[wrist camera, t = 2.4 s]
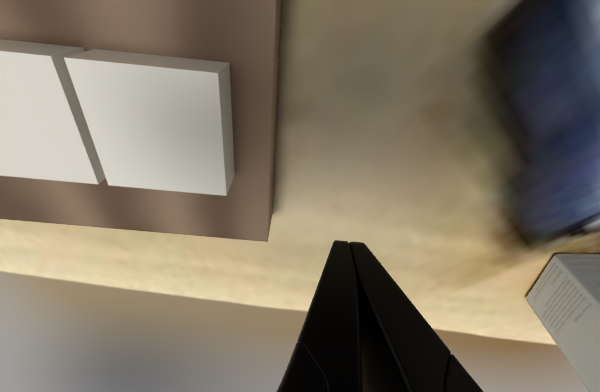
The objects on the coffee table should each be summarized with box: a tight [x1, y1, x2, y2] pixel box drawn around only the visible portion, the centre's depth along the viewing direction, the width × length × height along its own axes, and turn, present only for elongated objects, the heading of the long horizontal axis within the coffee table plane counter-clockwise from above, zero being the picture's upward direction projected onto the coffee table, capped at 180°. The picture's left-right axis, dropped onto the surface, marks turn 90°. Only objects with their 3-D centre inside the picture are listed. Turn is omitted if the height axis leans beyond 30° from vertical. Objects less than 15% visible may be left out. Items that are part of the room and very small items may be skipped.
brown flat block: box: [0, 0, 282, 242], centre depth 16 cm, size 18×16×3 cm
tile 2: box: [64, 49, 235, 196], centre depth 14 cm, size 6×6×2 cm
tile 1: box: [0, 39, 106, 184], centre depth 14 cm, size 6×6×2 cm
